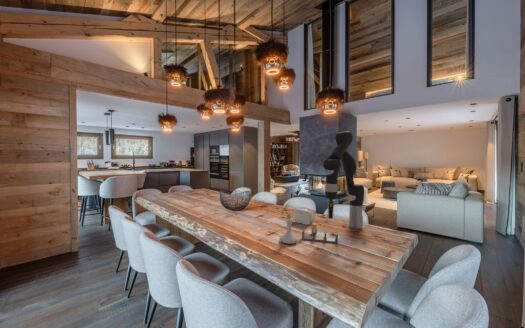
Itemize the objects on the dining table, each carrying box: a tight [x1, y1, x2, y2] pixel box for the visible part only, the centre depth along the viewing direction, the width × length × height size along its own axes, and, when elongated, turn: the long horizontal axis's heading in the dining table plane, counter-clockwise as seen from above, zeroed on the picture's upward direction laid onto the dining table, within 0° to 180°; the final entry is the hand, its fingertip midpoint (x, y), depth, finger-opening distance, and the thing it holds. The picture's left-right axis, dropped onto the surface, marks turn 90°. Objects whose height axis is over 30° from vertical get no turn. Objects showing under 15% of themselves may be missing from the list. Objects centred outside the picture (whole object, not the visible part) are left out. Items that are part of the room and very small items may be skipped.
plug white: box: [326, 207, 334, 220], centre depth 146 cm, size 4×4×7 cm
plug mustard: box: [311, 222, 318, 236], centre depth 160 cm, size 4×4×7 cm
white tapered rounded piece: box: [279, 203, 299, 245], centre depth 143 cm, size 13×11×25 cm
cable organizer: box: [293, 206, 316, 226], centre depth 186 cm, size 15×11×12 cm
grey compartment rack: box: [301, 228, 339, 245], centre depth 148 cm, size 22×6×6 cm, turn 75°
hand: (330, 217), depth 146 cm, fingers closed on plug white, 3 cm apart
